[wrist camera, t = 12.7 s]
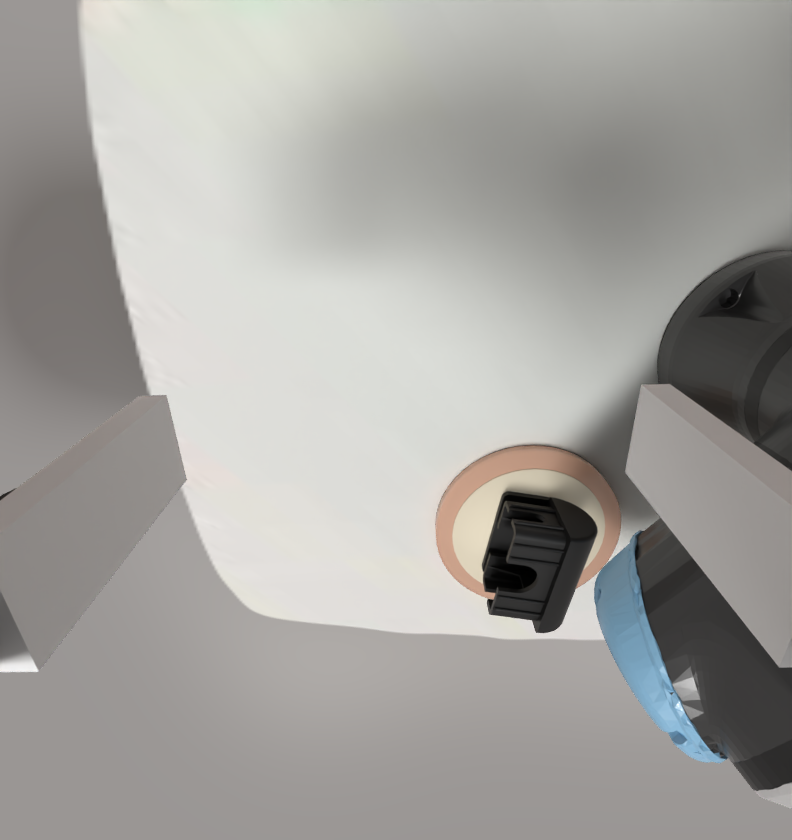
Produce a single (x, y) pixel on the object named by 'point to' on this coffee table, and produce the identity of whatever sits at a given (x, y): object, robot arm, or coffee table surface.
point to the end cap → (536, 558)
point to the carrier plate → (524, 473)
